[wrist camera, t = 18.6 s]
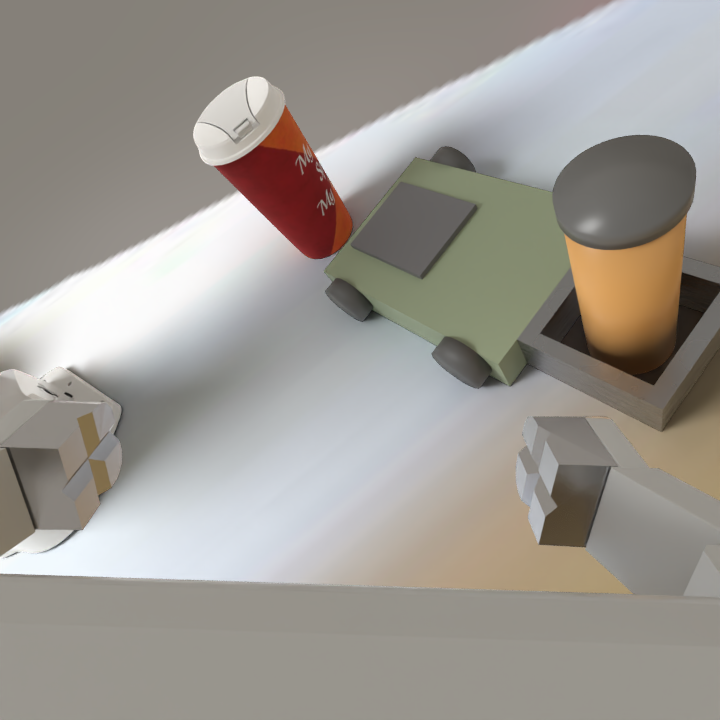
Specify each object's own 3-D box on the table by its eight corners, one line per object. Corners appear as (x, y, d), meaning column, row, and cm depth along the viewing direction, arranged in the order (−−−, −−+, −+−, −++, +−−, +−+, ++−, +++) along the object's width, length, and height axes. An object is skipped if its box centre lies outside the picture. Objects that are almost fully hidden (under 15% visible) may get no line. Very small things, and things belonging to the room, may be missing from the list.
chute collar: (526, 363, 35) (516, 339, 32) (600, 263, 36) (597, 231, 33) (661, 431, 29) (662, 409, 26) (745, 310, 30) (754, 277, 27)
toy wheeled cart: (333, 305, 46) (310, 280, 42) (437, 174, 47) (423, 140, 44) (498, 402, 34) (483, 378, 31) (628, 226, 36) (626, 186, 33)
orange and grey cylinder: (573, 367, 33) (535, 230, 22) (597, 298, 35) (573, 137, 24) (666, 386, 30) (676, 239, 19) (689, 309, 31) (710, 131, 21)
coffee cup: (377, 229, 47) (289, 92, 36) (309, 283, 48) (201, 167, 37) (341, 189, 53) (254, 58, 41) (280, 239, 53) (177, 124, 42)
